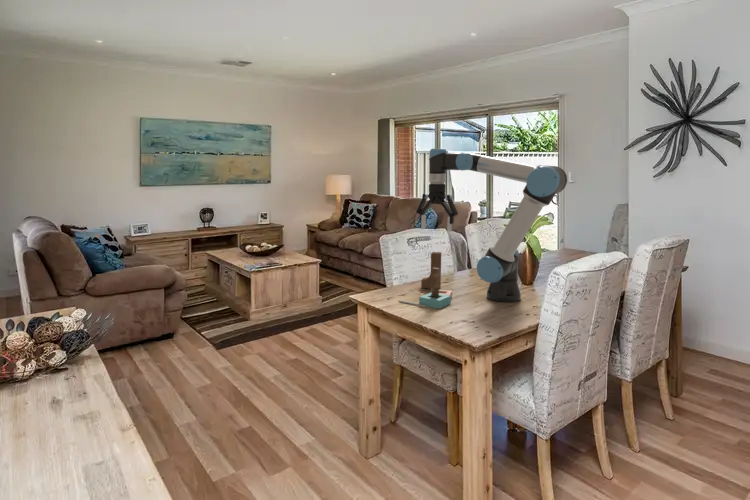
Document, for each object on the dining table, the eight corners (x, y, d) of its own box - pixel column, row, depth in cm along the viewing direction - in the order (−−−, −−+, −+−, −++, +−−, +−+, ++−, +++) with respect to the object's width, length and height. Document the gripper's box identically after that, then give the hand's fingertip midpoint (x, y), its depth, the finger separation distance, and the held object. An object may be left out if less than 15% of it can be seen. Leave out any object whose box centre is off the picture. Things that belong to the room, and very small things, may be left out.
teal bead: (450, 303, 217) (450, 295, 216) (439, 308, 209) (439, 300, 208) (430, 299, 223) (430, 292, 222) (419, 304, 215) (419, 297, 214)
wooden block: (421, 288, 243) (421, 252, 240) (422, 286, 248) (423, 251, 245) (439, 289, 241) (440, 253, 238) (440, 287, 245) (441, 252, 242)
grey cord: (426, 306, 212) (426, 305, 212) (425, 307, 211) (425, 305, 211) (399, 301, 220) (399, 300, 220) (398, 301, 220) (398, 300, 219)
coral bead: (452, 297, 228) (452, 290, 227) (449, 301, 220) (449, 295, 219) (434, 295, 230) (435, 289, 229) (431, 300, 222) (431, 293, 222)
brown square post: (439, 304, 216) (440, 268, 213) (436, 305, 214) (436, 269, 211) (433, 302, 218) (434, 267, 215) (429, 304, 215) (430, 268, 213)
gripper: (409, 183, 227) (408, 228, 230) (458, 184, 212) (457, 232, 216) (417, 182, 233) (417, 227, 236) (466, 183, 218) (464, 231, 222)
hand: (436, 230), depth 226 cm, fingers open, 13 cm apart
